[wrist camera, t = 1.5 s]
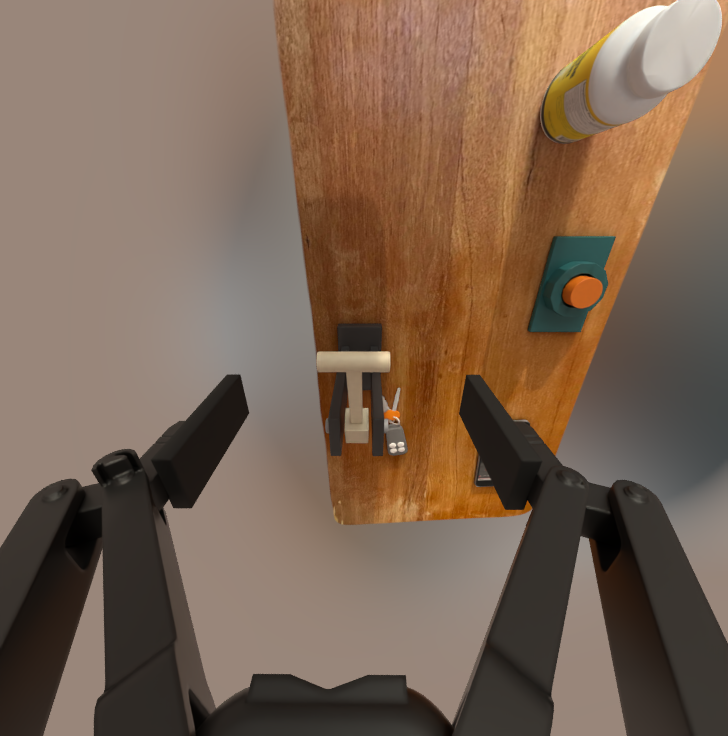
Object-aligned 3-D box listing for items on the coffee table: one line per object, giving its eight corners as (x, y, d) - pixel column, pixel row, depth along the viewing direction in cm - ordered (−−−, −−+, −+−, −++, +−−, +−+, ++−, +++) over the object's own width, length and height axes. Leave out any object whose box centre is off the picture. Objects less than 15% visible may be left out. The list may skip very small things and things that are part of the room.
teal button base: (553, 236, 34) (566, 237, 32) (611, 236, 34) (628, 237, 32) (527, 330, 40) (536, 336, 38) (577, 330, 40) (589, 337, 38)
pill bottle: (610, 53, 27) (759, -48, 17) (598, 137, 30) (719, 94, 20) (539, 72, 28) (640, -15, 17) (534, 152, 31) (619, 119, 20)
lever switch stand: (338, 323, 40) (320, 392, 24) (381, 323, 40) (391, 392, 24) (341, 385, 44) (327, 476, 29) (379, 385, 44) (387, 477, 29)
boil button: (567, 275, 35) (576, 278, 33) (597, 275, 34) (607, 278, 33) (557, 304, 36) (566, 308, 35) (586, 304, 36) (596, 308, 35)
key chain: (408, 448, 50) (410, 454, 49) (388, 451, 51) (388, 457, 49) (400, 386, 44) (401, 391, 43) (376, 390, 45) (376, 395, 43)
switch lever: (318, 342, 20) (314, 369, 19) (389, 342, 20) (391, 369, 19) (333, 421, 30) (331, 443, 28) (381, 421, 30) (382, 443, 28)
